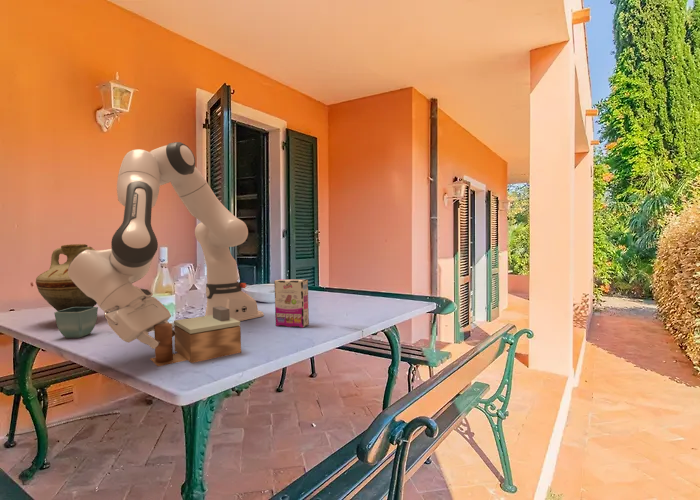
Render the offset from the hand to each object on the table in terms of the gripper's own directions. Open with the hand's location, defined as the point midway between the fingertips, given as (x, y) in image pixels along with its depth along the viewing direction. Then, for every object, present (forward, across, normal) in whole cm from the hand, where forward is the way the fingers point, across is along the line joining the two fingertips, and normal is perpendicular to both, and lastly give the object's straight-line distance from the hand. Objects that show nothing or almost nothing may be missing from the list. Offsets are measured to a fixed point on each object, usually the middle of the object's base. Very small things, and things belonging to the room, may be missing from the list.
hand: (165, 340), depth 100 cm
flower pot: (-25, +32, +34) cm, 53 cm away
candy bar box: (+24, +39, -15) cm, 48 cm away
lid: (+4, +7, -7) cm, 11 cm away
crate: (+8, +4, 0) cm, 9 cm away
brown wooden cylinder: (+3, 0, +4) cm, 5 cm away
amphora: (-35, +54, +44) cm, 78 cm away
